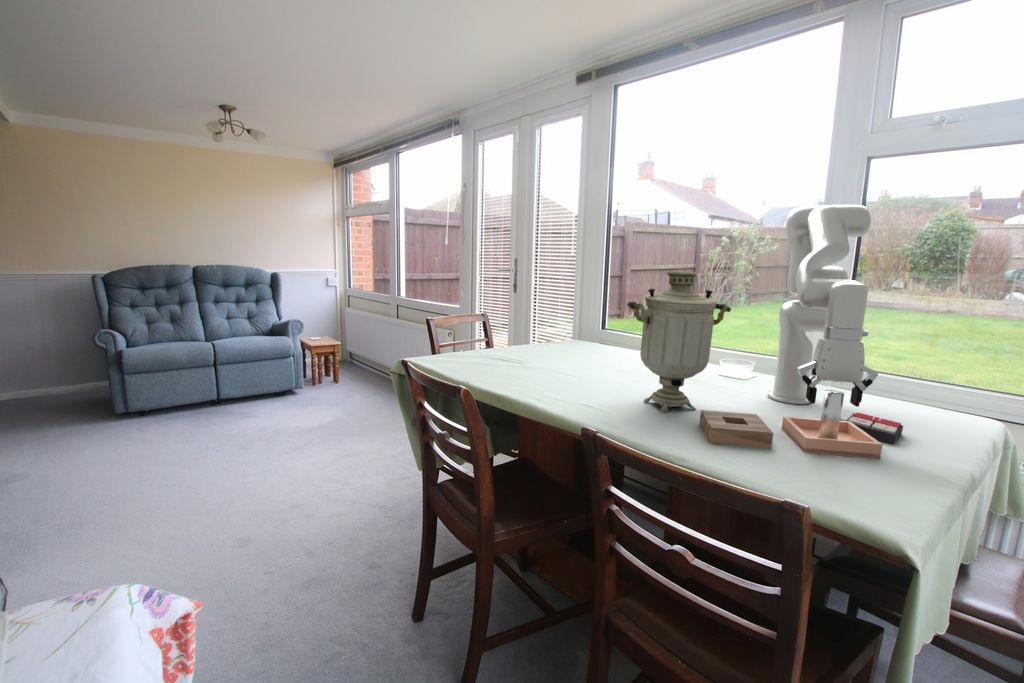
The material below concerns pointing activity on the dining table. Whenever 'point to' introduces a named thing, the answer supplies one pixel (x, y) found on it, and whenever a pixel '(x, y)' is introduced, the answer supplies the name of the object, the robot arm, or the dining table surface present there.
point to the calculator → (875, 426)
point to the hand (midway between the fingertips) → (832, 403)
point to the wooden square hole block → (735, 429)
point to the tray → (847, 444)
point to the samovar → (676, 336)
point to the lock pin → (831, 414)
